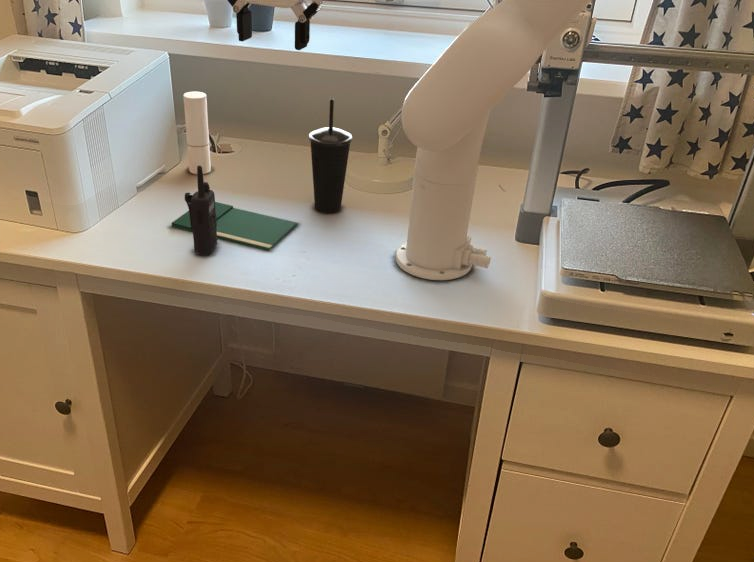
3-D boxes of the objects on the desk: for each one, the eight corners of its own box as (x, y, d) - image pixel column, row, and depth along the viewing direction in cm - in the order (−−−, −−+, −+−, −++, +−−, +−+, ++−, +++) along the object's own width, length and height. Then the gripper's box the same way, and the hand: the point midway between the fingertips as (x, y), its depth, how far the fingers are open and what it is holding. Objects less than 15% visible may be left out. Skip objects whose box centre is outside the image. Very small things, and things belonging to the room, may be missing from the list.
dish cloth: (297, 224, 134) (297, 220, 134) (268, 250, 126) (268, 246, 126) (204, 203, 140) (204, 199, 140) (171, 226, 132) (171, 222, 131)
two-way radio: (210, 258, 123) (204, 170, 114) (184, 255, 124) (176, 167, 115) (220, 242, 128) (215, 157, 119) (195, 240, 128) (188, 154, 119)
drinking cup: (344, 219, 137) (349, 108, 125) (303, 213, 138) (304, 103, 126) (351, 201, 143) (357, 95, 131) (312, 197, 144) (315, 90, 132)
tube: (215, 170, 152) (210, 95, 144) (197, 176, 150) (191, 99, 141) (202, 164, 155) (197, 90, 146) (185, 169, 152) (178, 94, 144)
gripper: (204, -87, 107) (211, 41, 117) (316, -76, 101) (313, 57, 112) (231, -91, 112) (235, 31, 122) (338, -81, 107) (333, 46, 117)
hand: (272, 43), depth 117 cm, fingers open, 9 cm apart
